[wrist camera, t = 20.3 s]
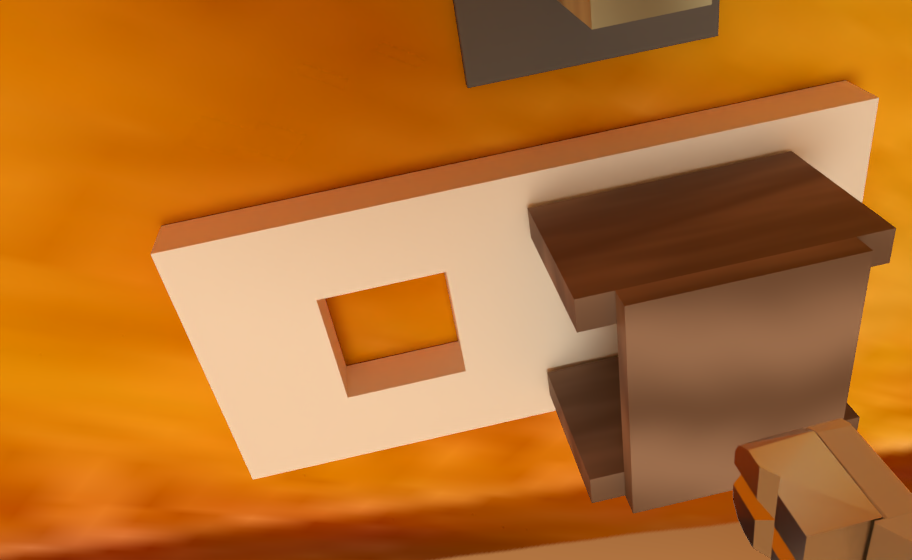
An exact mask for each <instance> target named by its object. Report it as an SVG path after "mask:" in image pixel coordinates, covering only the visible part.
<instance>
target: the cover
mask: <svg viewBox="0 0 912 560" xmlns="http://www.w3.org/2000/svg"><path fill="white" fill-rule="evenodd" d="M527 209H528V217H529V226H530V234H531V239H532V241H533V243H534V245H535V247H536V249H537V251H538V253H539V255H540V257H541V259H542V261H543V264H544V266H545V268H546V270H547V272H548V274H549V276H550V278H551V280H552V282H553V284H554V286H555V288H556V290H557V292H558V294H559V296H560V299H561V301H562V303H563V305H564V307H565V309H566V311H567V313H568V315H569V317H570V319H571V321H572V323H573V325H574V327H575V329H576V332H577V333H578V332H582V331H587V330H591V329H596V328H600V327H605V326H609V325H614V324H617V340H618V357H613V358H609V359H605V360H600V361H596V362H591V363H587V364H583V365H578V366H574V367H569V368H565V369H560V370H556V371H552V372H547V375H548V384H549V392H550V396H551V399H552V401H553V404H554V407H555V409H556V412H557V414H558V417H559V419H560V422H561V425H562V427H563V430H564V432H565V435H566V437H567V440H568V443H569V445H570V448H571V450H572V453H573V455H574V458H575V461H576V463H577V466H578V468H579V471H580V473H581V476H582V479H583V481H584V484H585V486H586V489H587V492H588V494H589V497H590V499H591V502H592V503H594V502H599V501H603V500H607V499H612V498H616V497H620V496H624V495H625V496H626V498H627V500H628V503H629V505H630V507H631V509H632V512H633V513H637V512H641V511H646V510H650V509H654V508H658V507H663V506H667V505H671V504H675V503H680V502H684V501H688V500H692V499H697V498H701V497H705V496H709V495H714V494H718V493H722V492H726V491H731V490H733V484H734V482H735V481H736V480H737V479H738V477H739V476H740V475H741V473H740V472H739V470H738V469H737V467H736V465H735V464H734V458H735V450H736V449H737V447H738V446H739V445H741V444H745V443H748V442H752V441H755V440H759V439H763V438H766V437H770V436H773V435H777V434H781V433H784V432H788V431H791V430H795V429H799V428H802V427H803V428H807V427H810V426H814V425H817V424H821V423H824V422H828V421H832V420H835V419H841V418H842V419H844V420H845V421H847V422H849V423H850V424H851V425H852V426H853V427H854V428H855V429H856V430H857V428H858V423H859V416H858V415H857V414H856V413H855V411H854V410H853V409H852V408H851V407H850V406H849V405H848V404H847V397H848V392H849V386H850V380H851V375H852V369H853V363H854V358H855V352H856V347H857V341H858V335H859V330H860V324H861V318H862V313H863V307H864V301H865V296H866V290H867V284H868V279H869V273H870V267H872V266H877V265H881V264H886V263H889V262H890V257H891V251H892V246H893V241H894V236H895V231H896V228H895V227H894V226H892V225H891V224H890V223H888V222H887V221H886V220H884V219H883V218H882V217H880V216H879V215H877V214H876V213H875V212H873V211H872V210H871V209H869V208H868V207H867V206H865V205H864V204H863V203H861V202H860V201H859V200H857V199H856V198H854V197H853V196H852V195H850V194H849V193H848V192H846V191H845V190H844V189H842V188H841V187H840V186H838V185H837V184H836V183H834V182H833V181H831V180H830V179H829V178H827V177H826V176H825V175H823V174H822V173H821V172H819V171H818V170H817V169H815V168H814V167H813V166H811V165H810V164H808V163H807V162H806V161H804V160H803V159H802V158H800V157H799V156H798V155H796V154H795V153H794V152H792V151H789V152H785V153H780V154H776V155H771V156H766V157H762V158H757V159H752V160H748V161H743V162H739V163H734V164H729V165H725V166H720V167H716V168H711V169H706V170H702V171H697V172H692V173H688V174H683V175H679V176H674V177H669V178H665V179H660V180H655V181H651V182H646V183H642V184H637V185H632V186H628V187H623V188H619V189H614V190H609V191H605V192H600V193H595V194H591V195H586V196H582V197H577V198H572V199H568V200H563V201H559V202H554V203H549V204H545V205H540V206H535V207H531V208H527Z"/></svg>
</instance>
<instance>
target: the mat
mask: <svg viewBox="0 0 912 560" xmlns="http://www.w3.org/2000/svg"><path fill="white" fill-rule="evenodd" d="M453 3H454V10H455V16H456V22H457V29H458V35H459V42H460V48H461V55H462V61H463V67H464V74H465V80H466V85H467V87H468V88H471V87H476V86H480V85H485V84H490V83H495V82H499V81H504V80H509V79H514V78H519V77H523V76H528V75H533V74H538V73H542V72H547V71H552V70H557V69H562V68H566V67H571V66H576V65H581V64H586V63H590V62H595V61H600V60H605V59H609V58H614V57H619V56H624V55H629V54H633V53H638V52H643V51H648V50H652V49H657V48H662V47H667V46H672V45H676V44H681V43H686V42H691V41H695V40H700V39H705V38H710V37H715V36H718V23H719V0H712V5H707V6H703V7H698V8H693V9H688V10H684V11H679V12H674V13H669V14H665V15H660V16H655V17H650V18H645V19H641V20H636V21H631V22H626V23H622V24H617V25H612V26H607V27H602V28H598V29H593V30H592V29H591V28H589V27H588V26H587V25H586V24H585V23H583V22H582V21H581V20H580V19H579V18H577V17H576V16H575V15H574V14H573V13H571V12H570V11H569V10H568V9H567V8H566V7H564V6H563V5H562V4H561V3H560V2H558V1H557V0H453Z"/></svg>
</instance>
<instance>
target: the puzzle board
mask: <svg viewBox="0 0 912 560" xmlns="http://www.w3.org/2000/svg"><path fill="white" fill-rule="evenodd" d="M878 100H879V98H878V97H876V96H874V95H873V94H871V93H869V92H867V91H865V90H863V89H861V88H859V87H857V86H856V85H854V84H852V83H850V82H848V81H846V80H844V81H839V82H835V83H830V84H825V85H820V86H816V87H811V88H806V89H802V90H797V91H792V92H788V93H783V94H778V95H774V96H769V97H764V98H760V99H755V100H750V101H745V102H741V103H736V104H731V105H727V106H722V107H717V108H713V109H708V110H703V111H699V112H694V113H689V114H684V115H680V116H675V117H670V118H666V119H661V120H656V121H652V122H647V123H642V124H638V125H633V126H628V127H623V128H619V129H614V130H609V131H605V132H600V133H595V134H591V135H586V136H581V137H577V138H572V139H567V140H563V141H558V142H553V143H548V144H544V145H539V146H534V147H530V148H525V149H520V150H516V151H511V152H506V153H502V154H497V155H492V156H487V157H483V158H478V159H473V160H469V161H464V162H459V163H455V164H450V165H445V166H441V167H436V168H431V169H426V170H422V171H417V172H412V173H408V174H403V175H398V176H394V177H389V178H384V179H380V180H375V181H370V182H366V183H361V184H356V185H351V186H347V187H342V188H337V189H333V190H328V191H323V192H319V193H314V194H309V195H305V196H300V197H295V198H290V199H286V200H281V201H276V202H272V203H267V204H262V205H258V206H253V207H248V208H244V209H239V210H234V211H229V212H225V213H220V214H215V215H211V216H206V217H201V218H197V219H192V220H187V221H183V222H178V223H173V224H169V225H164V226H161V228H160V230H159V233H158V236H157V238H156V241H155V244H154V246H153V249H152V252H151V256H152V258H153V261H154V263H155V265H156V267H157V269H158V272H159V274H160V276H161V278H162V280H163V283H164V285H165V287H166V289H167V291H168V294H169V296H170V298H171V300H172V302H173V305H174V307H175V309H176V311H177V313H178V316H179V318H180V320H181V322H182V324H183V327H184V329H185V331H186V333H187V335H188V338H189V340H190V342H191V344H192V346H193V349H194V351H195V353H196V355H197V357H198V360H199V362H200V364H201V366H202V368H203V371H204V373H205V375H206V377H207V379H208V382H209V384H210V386H211V388H212V390H213V393H214V395H215V397H216V399H217V401H218V404H219V406H220V408H221V410H222V412H223V415H224V417H225V419H226V421H227V423H228V426H229V428H230V430H231V432H232V434H233V437H234V439H235V441H236V443H237V445H238V448H239V450H240V452H241V454H242V456H243V459H244V461H245V463H246V465H247V467H248V470H249V472H250V474H251V476H252V478H253V479H257V478H261V477H266V476H270V475H275V474H279V473H283V472H288V471H292V470H297V469H301V468H305V467H310V466H314V465H318V464H323V463H327V462H332V461H336V460H340V459H345V458H349V457H354V456H358V455H362V454H367V453H371V452H375V451H380V450H384V449H389V448H393V447H397V446H402V445H406V444H410V443H415V442H419V441H424V440H428V439H432V438H437V437H441V436H446V435H450V434H454V433H459V432H463V431H467V430H472V429H476V428H481V427H485V426H489V425H494V424H498V423H503V422H507V421H511V420H516V419H520V418H524V417H529V416H533V415H538V414H542V413H546V412H551V411H555V410H556V409H555V407H554V404H553V401H552V399H551V396H550V392H549V384H548V375H547V372H552V371H556V370H560V369H565V368H569V367H574V366H578V365H583V364H587V363H591V362H596V361H600V360H605V359H609V358H613V357H618V340H617V324H614V325H609V326H605V327H600V328H596V329H591V330H587V331H582V332H578V333H577V332H576V329H575V327H574V325H573V323H572V321H571V319H570V317H569V315H568V313H567V311H566V309H565V307H564V305H563V303H562V301H561V299H560V296H559V294H558V292H557V290H556V288H555V286H554V284H553V282H552V280H551V278H550V276H549V274H548V272H547V270H546V268H545V266H544V264H543V261H542V259H541V257H540V255H539V253H538V251H537V249H536V247H535V245H534V243H533V241H532V239H531V234H530V226H529V217H528V209H527V208H531V207H535V206H540V205H545V204H549V203H554V202H559V201H563V200H568V199H572V198H577V197H582V196H586V195H591V194H595V193H600V192H605V191H609V190H614V189H619V188H623V187H628V186H632V185H637V184H642V183H646V182H651V181H655V180H660V179H665V178H669V177H674V176H679V175H683V174H688V173H692V172H697V171H702V170H706V169H711V168H716V167H720V166H725V165H729V164H734V163H739V162H743V161H748V160H752V159H757V158H762V157H766V156H771V155H776V154H780V153H785V152H789V151H792V152H794V153H795V154H796V155H798V156H799V157H800V158H802V159H803V160H804V161H806V162H807V163H808V164H810V165H811V166H813V167H814V168H815V169H817V170H818V171H819V172H821V173H822V174H823V175H825V176H826V177H827V178H829V179H830V180H831V181H833V182H834V183H836V184H837V185H838V186H840V187H841V188H842V189H844V190H845V191H846V192H848V193H849V194H850V195H852V196H853V197H854V198H856V199H857V200H859V201H860V202H861V203H862V200H863V194H864V188H865V182H866V175H867V169H868V163H869V157H870V150H871V144H872V138H873V132H874V125H875V119H876V113H877V107H878ZM443 272H444V273H445V278H446V283H447V288H448V293H449V298H450V303H451V308H452V313H453V318H454V323H455V328H456V333H457V337H458V341H457V342H452V343H448V344H443V345H439V346H434V347H430V348H425V349H421V350H416V351H412V352H407V353H403V354H398V355H394V356H390V357H385V358H381V359H376V360H372V361H367V362H363V363H358V364H354V365H349V366H346V364H345V360H344V357H343V354H342V351H341V348H340V344H339V341H338V338H337V335H336V332H335V329H334V325H333V322H332V319H331V316H330V313H329V309H328V306H327V303H326V300H325V298H329V297H333V296H338V295H342V294H347V293H352V292H356V291H361V290H365V289H370V288H374V287H379V286H384V285H388V284H393V283H397V282H402V281H406V280H411V279H415V278H420V277H425V276H429V275H434V274H438V273H443Z"/></svg>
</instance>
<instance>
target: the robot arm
mask: <svg viewBox="0 0 912 560" xmlns="http://www.w3.org/2000/svg"><path fill="white" fill-rule="evenodd" d="M734 464H735V465H736V467H737V469H738V470H739V472H740V473H741V475H740V476H739V477H738V479H737V480H736V481H735V482H734V484H733V501H734V505H735V509H736V513H737V517H738V520H739V522H740V524H741V527H742V529H743V531H744V533H745V535H746V537H747V539H748V540H749V542H750V544H751V546H752V547H753V548H754V549H755V550H757V551H759V552H760V553H762V554H764V555H766V556H767V557H769V558H771V560H912V493H911V492H910V491H909V490H908V489H907V488H906V487H905V485H904V484H903V483H902V482H901V481H900V480H899V479H898V477H897V476H896V475H895V474H894V473H893V472H892V471H891V469H890V468H889V467H888V466H887V465H886V464H885V463H884V461H883V460H882V459H881V458H880V457H879V456H878V455H877V453H876V452H875V451H874V450H873V449H872V448H871V447H870V445H869V444H868V443H867V442H866V441H865V440H864V439H863V437H862V436H861V435H860V434H859V433H858V432H857V430H856V429H855V428H854V427H853V426H852V425H851V424H850V423H849V422H847V421H845V420H844V419H842V418H841V419H835V420H832V421H828V422H824V423H821V424H817V425H814V426H810V427H807V428H803V427H802V428H799V429H795V430H791V431H788V432H784V433H781V434H777V435H773V436H770V437H766V438H763V439H759V440H755V441H752V442H748V443H745V444H741V445H739V446H738V447H737V449H736V450H735V458H734Z"/></svg>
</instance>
